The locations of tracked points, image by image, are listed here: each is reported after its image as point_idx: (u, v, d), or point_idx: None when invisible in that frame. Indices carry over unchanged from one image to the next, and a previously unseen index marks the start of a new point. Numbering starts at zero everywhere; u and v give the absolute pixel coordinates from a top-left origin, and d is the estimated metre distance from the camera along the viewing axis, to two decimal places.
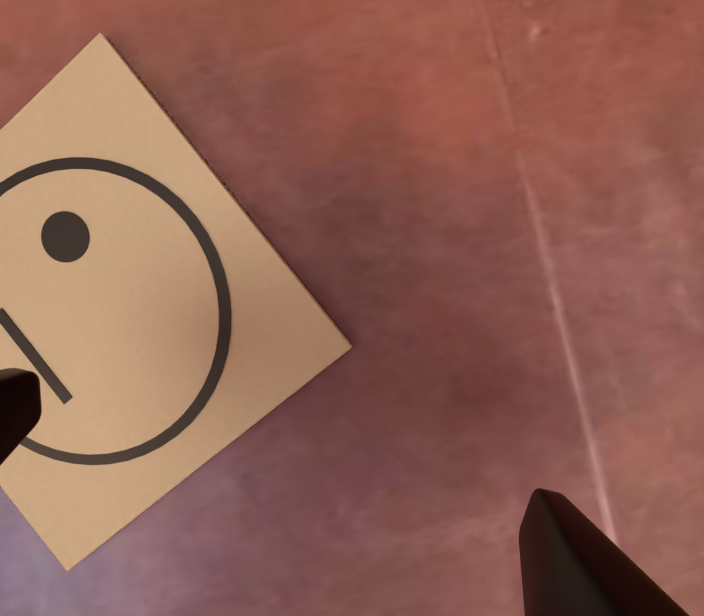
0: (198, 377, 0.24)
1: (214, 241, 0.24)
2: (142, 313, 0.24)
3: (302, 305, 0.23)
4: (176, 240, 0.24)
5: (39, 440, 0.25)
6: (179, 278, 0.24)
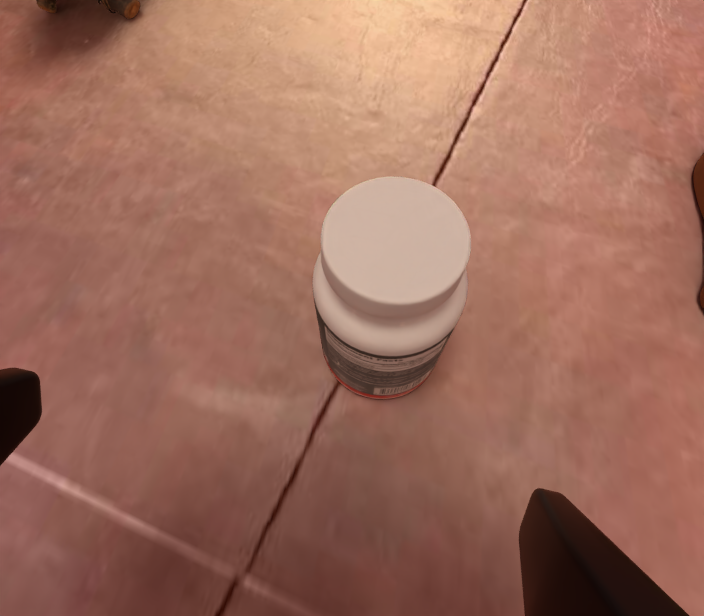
0: None
1: None
2: None
3: None
4: None
5: None
6: None
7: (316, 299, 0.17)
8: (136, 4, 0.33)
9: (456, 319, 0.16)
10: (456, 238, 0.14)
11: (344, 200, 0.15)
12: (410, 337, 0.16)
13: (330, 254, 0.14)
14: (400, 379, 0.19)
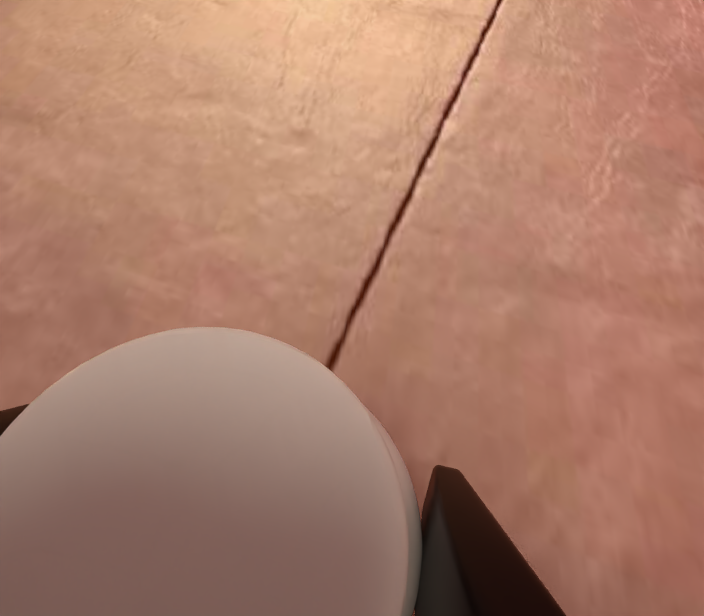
0: None
1: None
2: None
3: None
4: None
5: None
6: None
7: None
8: None
9: None
10: (362, 544, 0.05)
11: (44, 413, 0.05)
12: None
13: None
14: None
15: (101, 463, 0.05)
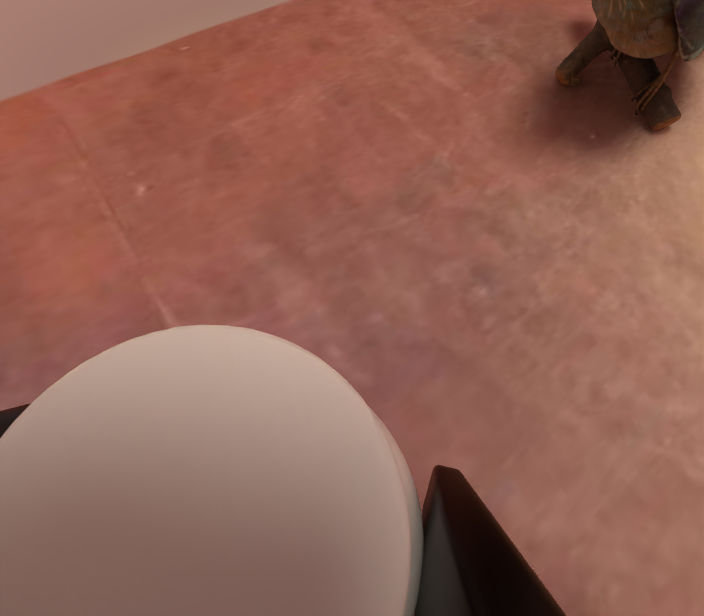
0: None
1: None
2: None
3: None
4: None
5: None
6: None
7: None
8: (676, 120, 0.26)
9: None
10: (365, 541, 0.05)
11: (47, 411, 0.05)
12: None
13: None
14: None
15: (104, 460, 0.05)
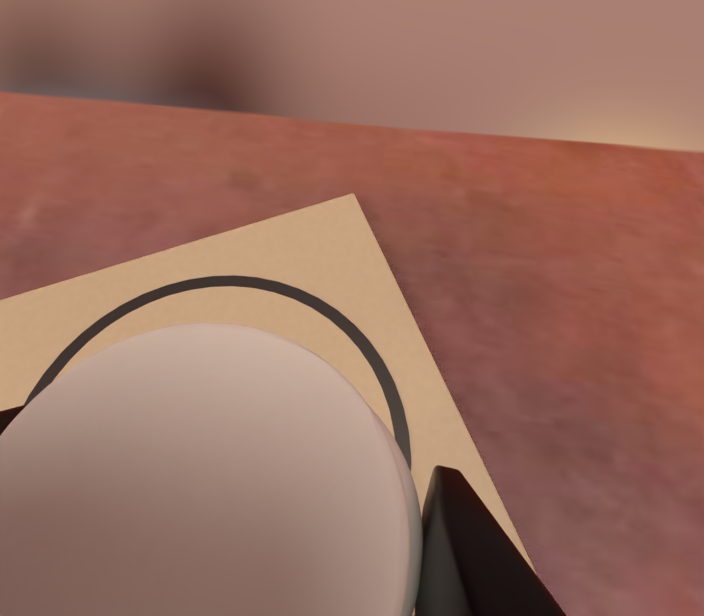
0: None
1: (409, 420, 0.19)
2: None
3: None
4: None
5: None
6: None
7: None
8: None
9: None
10: (364, 538, 0.05)
11: (47, 408, 0.05)
12: None
13: None
14: None
15: (104, 458, 0.05)
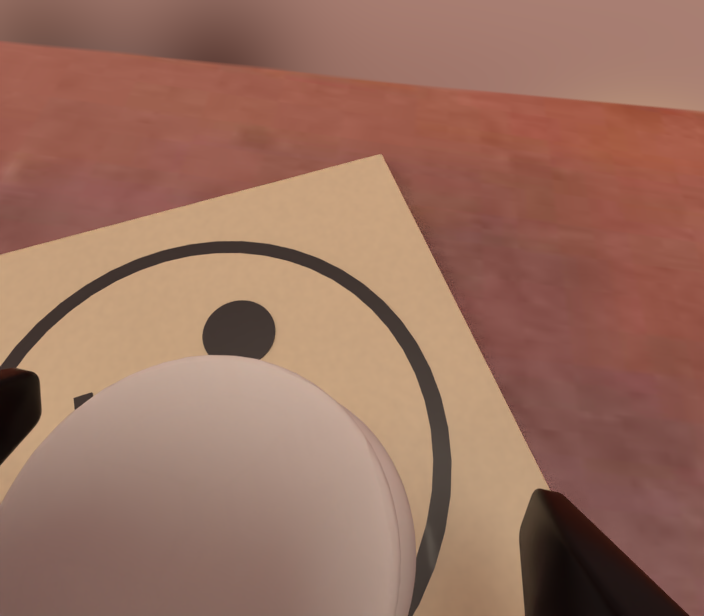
0: None
1: (448, 413, 0.16)
2: None
3: None
4: (394, 392, 0.16)
5: None
6: None
7: None
8: None
9: None
10: (358, 559, 0.05)
11: (69, 435, 0.06)
12: None
13: None
14: None
15: (122, 482, 0.05)
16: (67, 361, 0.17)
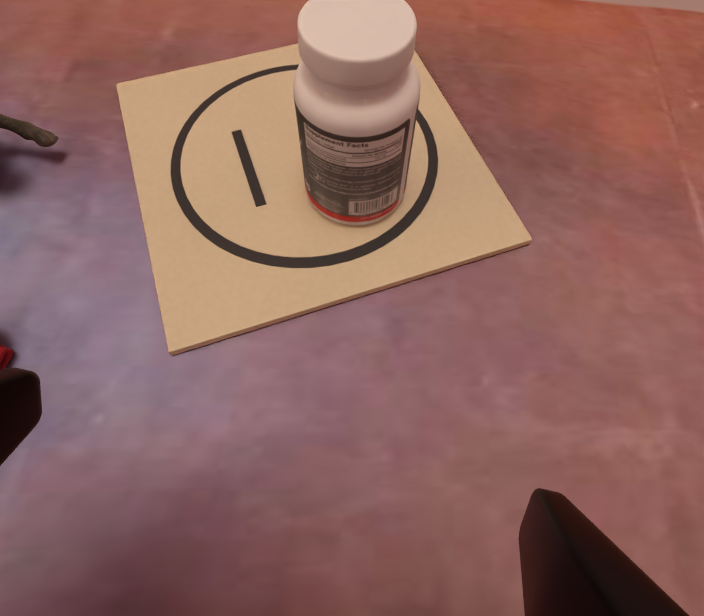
0: (388, 221, 0.26)
1: (436, 140, 0.29)
2: None
3: (496, 198, 0.27)
4: None
5: (213, 229, 0.26)
6: None
7: (296, 96, 0.20)
8: None
9: (410, 107, 0.20)
10: (404, 21, 0.18)
11: None
12: (372, 114, 0.19)
13: (305, 31, 0.18)
14: (369, 184, 0.23)
15: (334, 8, 0.19)
16: (224, 117, 0.30)
